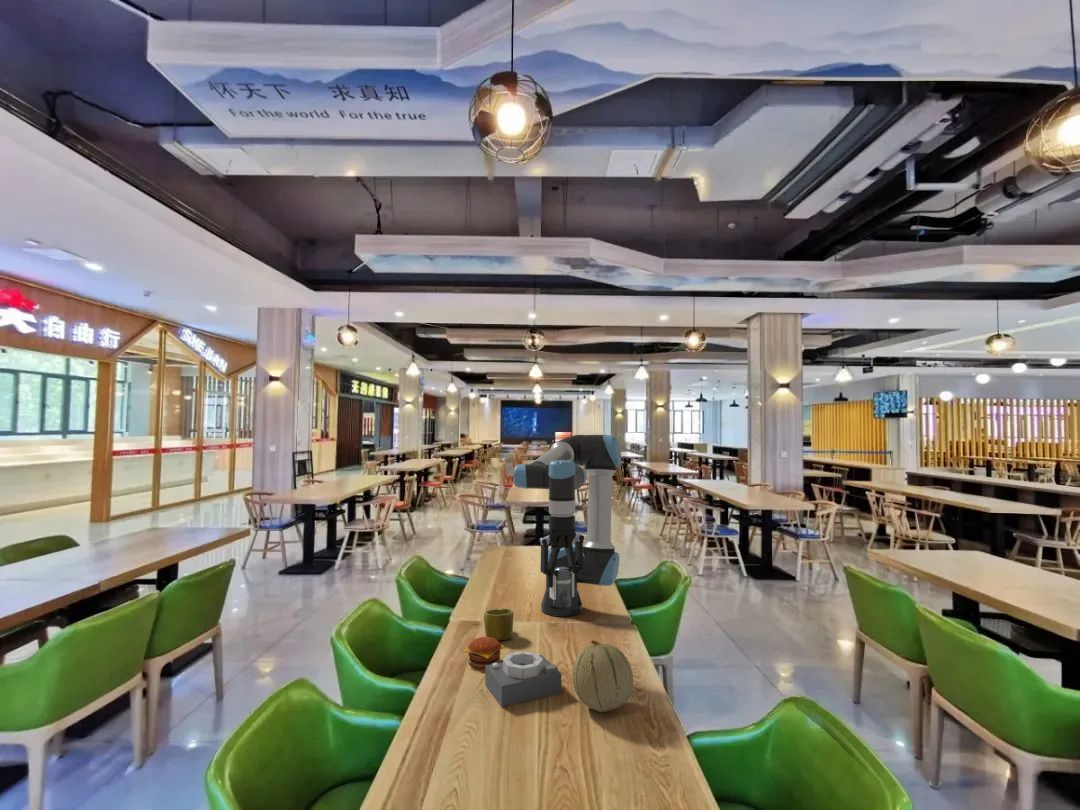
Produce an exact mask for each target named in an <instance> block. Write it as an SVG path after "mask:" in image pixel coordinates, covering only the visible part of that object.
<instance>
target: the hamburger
mask: <svg viewBox="0 0 1080 810" xmlns="http://www.w3.org/2000/svg"><path fill="white" fill-rule="evenodd" d="M503 649H506V646H505V645H503V644H501V641H497V640H496V639H495V638H491V637H486V636H480V637H477V638H474V639H473V640H471V641H470V643H469V644H468V646H467V648H466V649H464V650H463V651H462V653H468V665H469V666H470V667H471V668H473V669H478V670H486V665H491V664H493V663H501V657H500V655H501V650H503Z"/></svg>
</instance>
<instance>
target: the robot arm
mask: <svg viewBox="0 0 1080 810" xmlns="http://www.w3.org/2000/svg"><path fill="white" fill-rule="evenodd" d="M621 465H622V451H621V445H620V442H619V439H618V437H616V436H615V435H613V434H612V435H611V434H610V435H609V434H574V435H570V436H567V437H564V438H562V439H560V440H557V441H556V442H554V443H553V444H552V445H551V447H550V448H549V450H548V451H546V452H545V453H544V454H542V455H540V456H539V457H538V458H536V459H535V460H534V461H531V462H530V463H528V464H527V463H522V464H516V465H515V466H514V469H513V476H512V478H513V479H512V480H513V483H514V486H516V488H519V489H520V488H521V489H525V490H526V489H531V490H533V489H534V490H535V489H536V490H537V489H538V490H548V514H550V515H549V516H548V529H549V530H548V533H547V535H546V536H544V537H539V539H538V540H539V541H538V542H539V543H540V573H541V574H544V575H545V590H544V594H543V597H542V599H541V605H540V606H541V607H540V610H541V612H542V613H544V614H546V615H548V616H552V617H573V616H577V615H579V614H581V613H582V611H583V602H582V599H581V595H580V592H579V590H578V584H585V585H594V586H599V587H601V586H607V587H609V586H612V585H614V583H615V582H616V579H617V577H618V572H619V567H620V566H619V565H620V554H619V552H616V548H615V546H614V544H613V543H612V542H611V540H612V537H611V536H612V504H613V503H612V502H613V501H612V498H613V497H612V496H613V495H612V492H613V476H614V474H616V473H617V468H619V467H621ZM583 466H584V468H583ZM587 474H588V497H587V499H588V500H587V502H588V503H587V526H586V527H587V528H586V529H587V530H586V531H587V532H586V535H587V536H586V542H584V540H585V535H582V534H580V533H577V532H576V530H575V528H576V516H575V515H574V514H576V491H577V490H579V489H581V488H582V486H584V485H585V484H586V481H587ZM573 541H574V543H573ZM550 543H551V546H550V547H549V544H550ZM557 567H567V568H570V569H571V606H570V607H568V608H557V607H554V606H553V600H556V576H555V575H554V571H555V568H557Z"/></svg>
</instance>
